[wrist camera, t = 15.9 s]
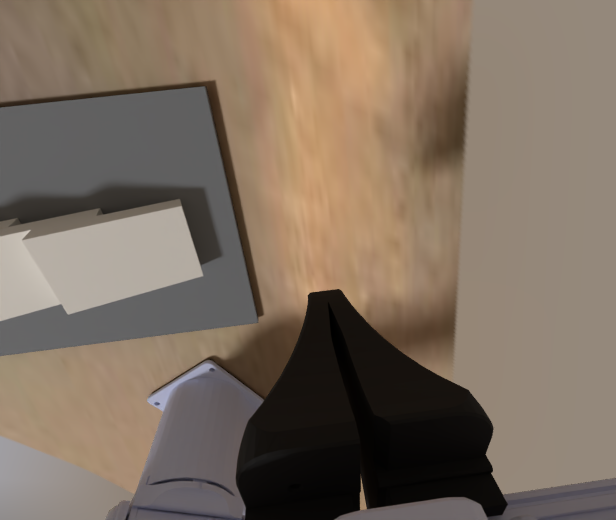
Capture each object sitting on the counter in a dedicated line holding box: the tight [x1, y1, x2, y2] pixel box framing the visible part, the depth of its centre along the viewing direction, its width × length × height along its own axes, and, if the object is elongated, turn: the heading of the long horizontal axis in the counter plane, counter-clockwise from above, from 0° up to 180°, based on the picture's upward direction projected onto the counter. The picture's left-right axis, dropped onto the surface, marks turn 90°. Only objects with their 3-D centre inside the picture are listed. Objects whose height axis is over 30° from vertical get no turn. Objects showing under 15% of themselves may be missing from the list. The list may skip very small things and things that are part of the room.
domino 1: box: [0, 208, 103, 321], centre depth 19 cm, size 2×5×8 cm
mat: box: [0, 86, 258, 356], centre depth 21 cm, size 24×17×1 cm
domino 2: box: [22, 199, 203, 315], centre depth 19 cm, size 2×5×8 cm
